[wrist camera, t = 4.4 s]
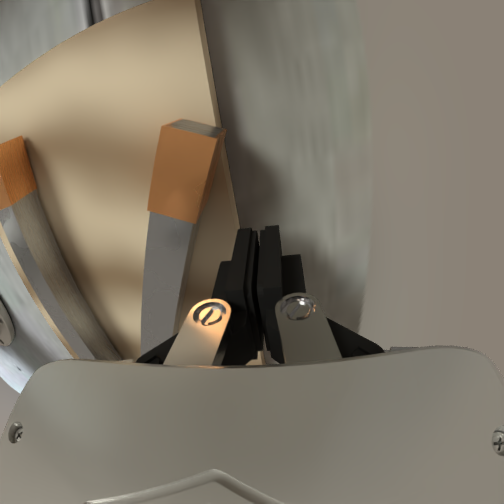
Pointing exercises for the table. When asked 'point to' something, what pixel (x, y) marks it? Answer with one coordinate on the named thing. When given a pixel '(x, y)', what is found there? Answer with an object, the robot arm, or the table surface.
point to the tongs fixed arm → (45, 257)
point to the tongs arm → (175, 221)
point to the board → (118, 155)
